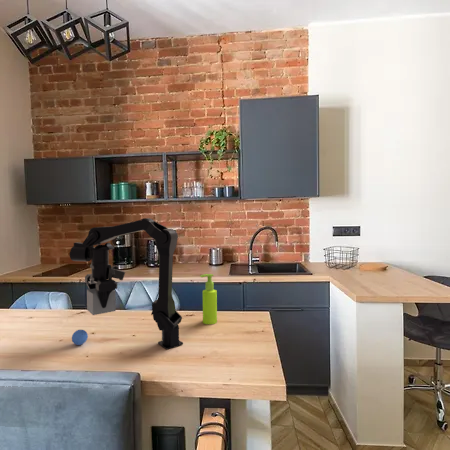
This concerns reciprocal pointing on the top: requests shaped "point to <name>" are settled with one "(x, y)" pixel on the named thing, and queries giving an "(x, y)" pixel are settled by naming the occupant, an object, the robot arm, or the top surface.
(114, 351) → the top surface
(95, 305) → the gray rectangular platform
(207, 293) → the soap dispenser
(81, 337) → the ball
